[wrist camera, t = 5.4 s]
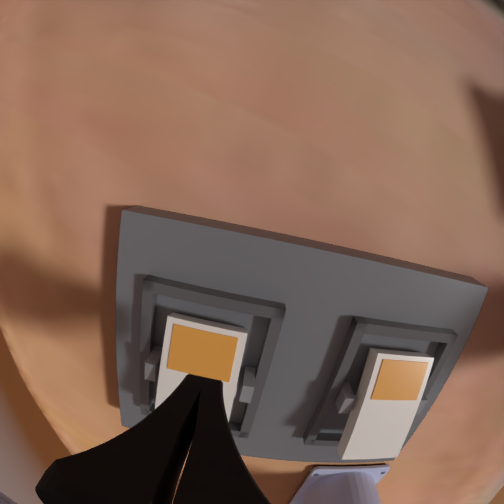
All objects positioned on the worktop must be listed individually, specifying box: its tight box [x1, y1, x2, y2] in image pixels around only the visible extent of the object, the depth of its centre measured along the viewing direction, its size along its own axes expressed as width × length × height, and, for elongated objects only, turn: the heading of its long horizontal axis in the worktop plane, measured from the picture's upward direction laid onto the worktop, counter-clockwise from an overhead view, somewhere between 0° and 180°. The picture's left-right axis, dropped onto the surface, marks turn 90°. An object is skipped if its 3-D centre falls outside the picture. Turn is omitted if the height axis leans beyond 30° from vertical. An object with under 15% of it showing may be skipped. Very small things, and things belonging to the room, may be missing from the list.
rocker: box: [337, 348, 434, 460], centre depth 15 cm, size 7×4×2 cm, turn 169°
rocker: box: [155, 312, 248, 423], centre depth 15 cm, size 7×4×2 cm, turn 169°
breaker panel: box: [116, 206, 488, 463], centre depth 17 cm, size 16×22×4 cm
